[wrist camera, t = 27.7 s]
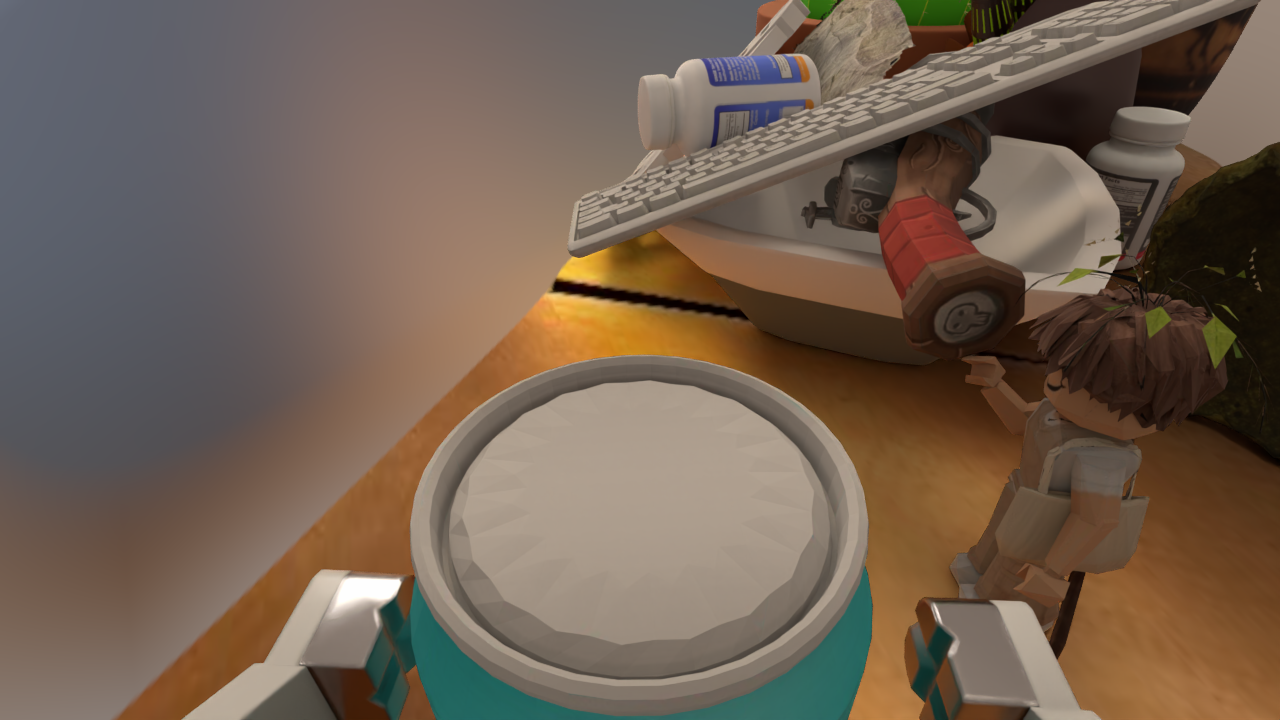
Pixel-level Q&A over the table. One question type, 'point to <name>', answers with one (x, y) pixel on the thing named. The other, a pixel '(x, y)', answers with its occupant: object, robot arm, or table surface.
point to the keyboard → (882, 114)
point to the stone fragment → (856, 45)
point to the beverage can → (640, 552)
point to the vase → (1187, 63)
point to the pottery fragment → (1231, 281)
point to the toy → (1089, 438)
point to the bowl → (852, 260)
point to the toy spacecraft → (1054, 82)
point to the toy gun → (931, 232)
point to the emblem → (762, 44)
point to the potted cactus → (927, 16)
